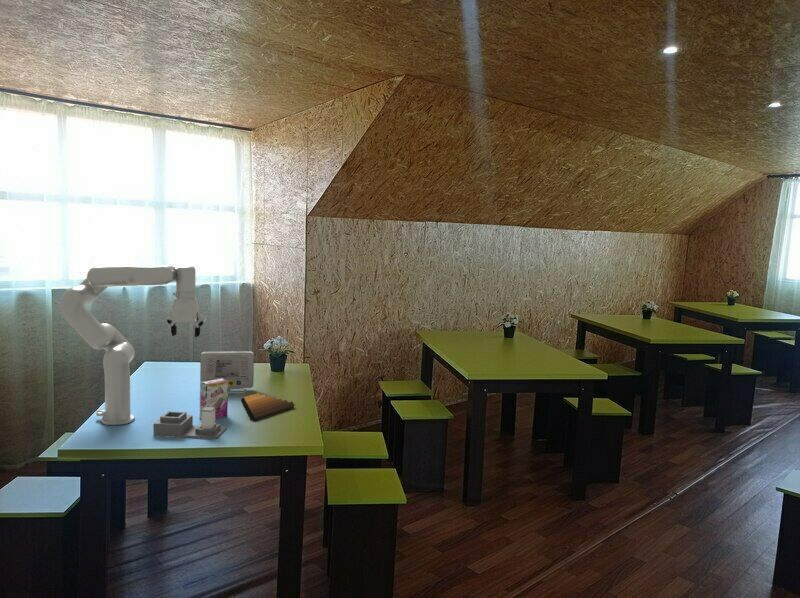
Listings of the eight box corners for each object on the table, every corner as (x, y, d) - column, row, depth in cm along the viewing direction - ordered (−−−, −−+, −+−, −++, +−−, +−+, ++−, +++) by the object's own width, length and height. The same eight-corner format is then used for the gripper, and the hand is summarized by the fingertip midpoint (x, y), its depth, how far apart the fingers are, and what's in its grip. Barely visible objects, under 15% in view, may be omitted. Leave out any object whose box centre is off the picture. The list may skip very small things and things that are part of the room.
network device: (253, 388, 303) (253, 350, 301) (253, 393, 295) (254, 354, 293) (201, 389, 297) (201, 350, 294) (199, 394, 288) (200, 354, 286)
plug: (201, 431, 235) (201, 409, 234) (205, 428, 239) (205, 406, 238) (211, 432, 235) (211, 410, 234) (215, 428, 239) (215, 407, 238)
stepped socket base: (153, 435, 230) (153, 418, 230) (166, 425, 242) (166, 409, 242) (216, 439, 230) (216, 421, 229) (226, 428, 242) (226, 412, 241)
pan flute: (255, 422, 253) (294, 409, 274) (255, 414, 253) (294, 402, 274) (215, 411, 266) (256, 398, 287) (215, 403, 266) (256, 392, 287)
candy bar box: (205, 422, 249) (206, 384, 247) (199, 419, 252) (199, 382, 250) (228, 416, 258) (228, 379, 256) (221, 413, 261) (222, 377, 259)
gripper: (161, 295, 241) (161, 336, 243) (203, 297, 241) (202, 338, 243) (168, 293, 249) (168, 333, 251) (209, 295, 249) (209, 335, 251)
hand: (185, 335), depth 247 cm, fingers open, 9 cm apart
